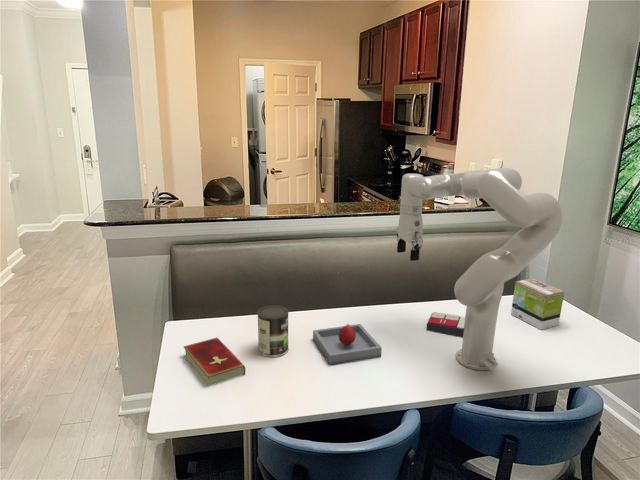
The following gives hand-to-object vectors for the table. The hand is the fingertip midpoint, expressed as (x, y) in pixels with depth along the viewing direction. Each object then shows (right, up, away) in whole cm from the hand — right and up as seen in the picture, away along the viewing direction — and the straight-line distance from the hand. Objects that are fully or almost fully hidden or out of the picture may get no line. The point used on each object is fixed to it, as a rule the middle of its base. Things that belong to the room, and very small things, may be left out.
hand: (407, 256), depth 167 cm
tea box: (+53, -26, +16) cm, 61 cm away
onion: (-22, -31, -8) cm, 39 cm away
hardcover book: (-65, -35, -19) cm, 76 cm away
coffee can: (-47, -32, -9) cm, 58 cm away
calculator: (+17, -28, +8) cm, 34 cm away
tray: (-23, -31, -7) cm, 39 cm away
